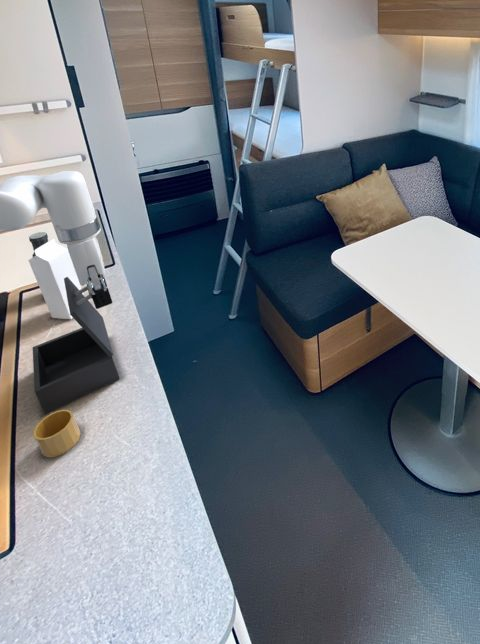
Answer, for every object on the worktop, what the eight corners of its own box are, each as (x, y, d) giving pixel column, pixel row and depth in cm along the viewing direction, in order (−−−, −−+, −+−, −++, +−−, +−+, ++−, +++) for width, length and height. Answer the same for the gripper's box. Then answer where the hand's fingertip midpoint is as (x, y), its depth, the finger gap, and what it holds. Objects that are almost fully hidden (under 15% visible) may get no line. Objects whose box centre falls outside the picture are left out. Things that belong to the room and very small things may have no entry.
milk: (52, 318, 113) (22, 250, 104) (70, 303, 118) (43, 237, 110) (71, 319, 112) (43, 251, 103) (88, 305, 117) (63, 238, 109)
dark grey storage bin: (45, 414, 85) (34, 392, 83) (41, 367, 97) (32, 347, 94) (119, 378, 93) (112, 357, 91) (108, 339, 105) (101, 319, 102)
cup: (37, 462, 76) (27, 444, 74) (48, 433, 82) (40, 415, 80) (75, 450, 78) (67, 432, 76) (84, 422, 83) (76, 405, 82)
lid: (70, 314, 83) (97, 298, 85) (63, 278, 94) (87, 265, 97) (109, 357, 91) (133, 341, 93) (99, 319, 102) (121, 306, 104)
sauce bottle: (50, 302, 119) (27, 244, 111) (40, 296, 122) (16, 238, 114) (75, 290, 124) (54, 233, 116) (64, 284, 127) (43, 228, 119)
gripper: (53, 219, 90) (78, 285, 97) (59, 252, 78) (87, 325, 85) (93, 209, 95) (114, 273, 102) (105, 239, 82) (127, 309, 89)
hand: (101, 296), depth 93 cm, fingers open, 6 cm apart
